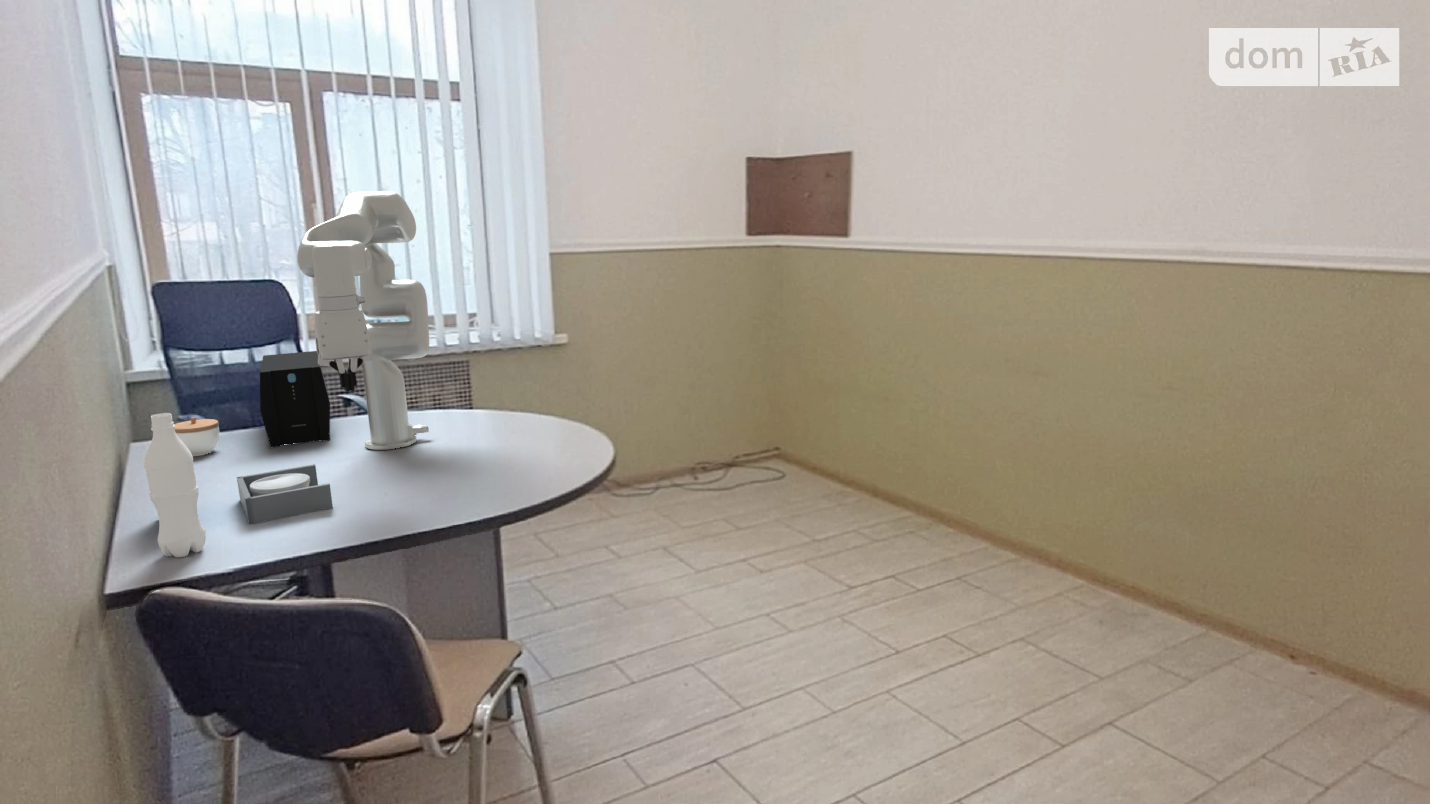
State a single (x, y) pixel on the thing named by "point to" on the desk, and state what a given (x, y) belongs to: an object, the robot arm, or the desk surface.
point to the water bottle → (173, 489)
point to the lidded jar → (198, 435)
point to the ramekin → (279, 483)
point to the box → (284, 497)
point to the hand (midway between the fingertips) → (349, 390)
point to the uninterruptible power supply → (294, 399)
